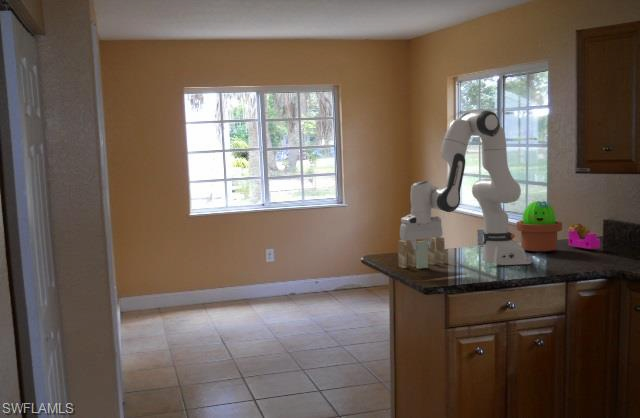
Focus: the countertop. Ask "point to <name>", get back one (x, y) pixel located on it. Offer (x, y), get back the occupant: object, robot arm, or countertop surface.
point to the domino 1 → (411, 254)
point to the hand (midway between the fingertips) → (421, 248)
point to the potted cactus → (539, 227)
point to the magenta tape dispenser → (584, 240)
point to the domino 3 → (440, 250)
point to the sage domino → (421, 255)
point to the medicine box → (480, 236)
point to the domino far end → (402, 253)
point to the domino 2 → (431, 252)
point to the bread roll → (579, 229)
